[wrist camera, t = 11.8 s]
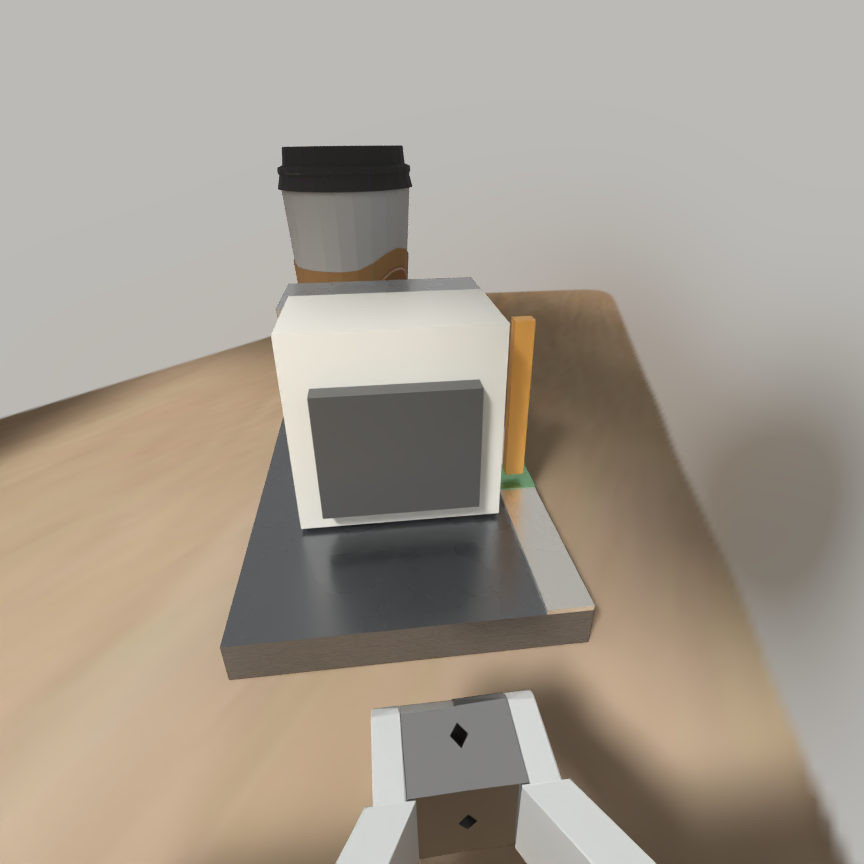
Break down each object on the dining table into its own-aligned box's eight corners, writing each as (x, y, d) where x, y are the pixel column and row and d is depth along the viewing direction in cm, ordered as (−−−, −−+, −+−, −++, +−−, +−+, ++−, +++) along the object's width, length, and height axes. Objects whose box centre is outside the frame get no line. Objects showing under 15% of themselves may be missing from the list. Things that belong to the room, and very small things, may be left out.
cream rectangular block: (541, 521, 22) (563, 328, 18) (299, 542, 21) (267, 342, 17) (507, 450, 27) (518, 287, 23) (310, 463, 26) (288, 296, 22)
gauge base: (589, 641, 19) (629, 421, 15) (229, 679, 17) (165, 452, 13) (483, 412, 34) (489, 276, 30) (290, 424, 33) (269, 284, 29)
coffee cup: (371, 408, 35) (353, 147, 28) (278, 382, 39) (242, 147, 32) (438, 367, 41) (436, 145, 34) (352, 349, 45) (335, 145, 38)
